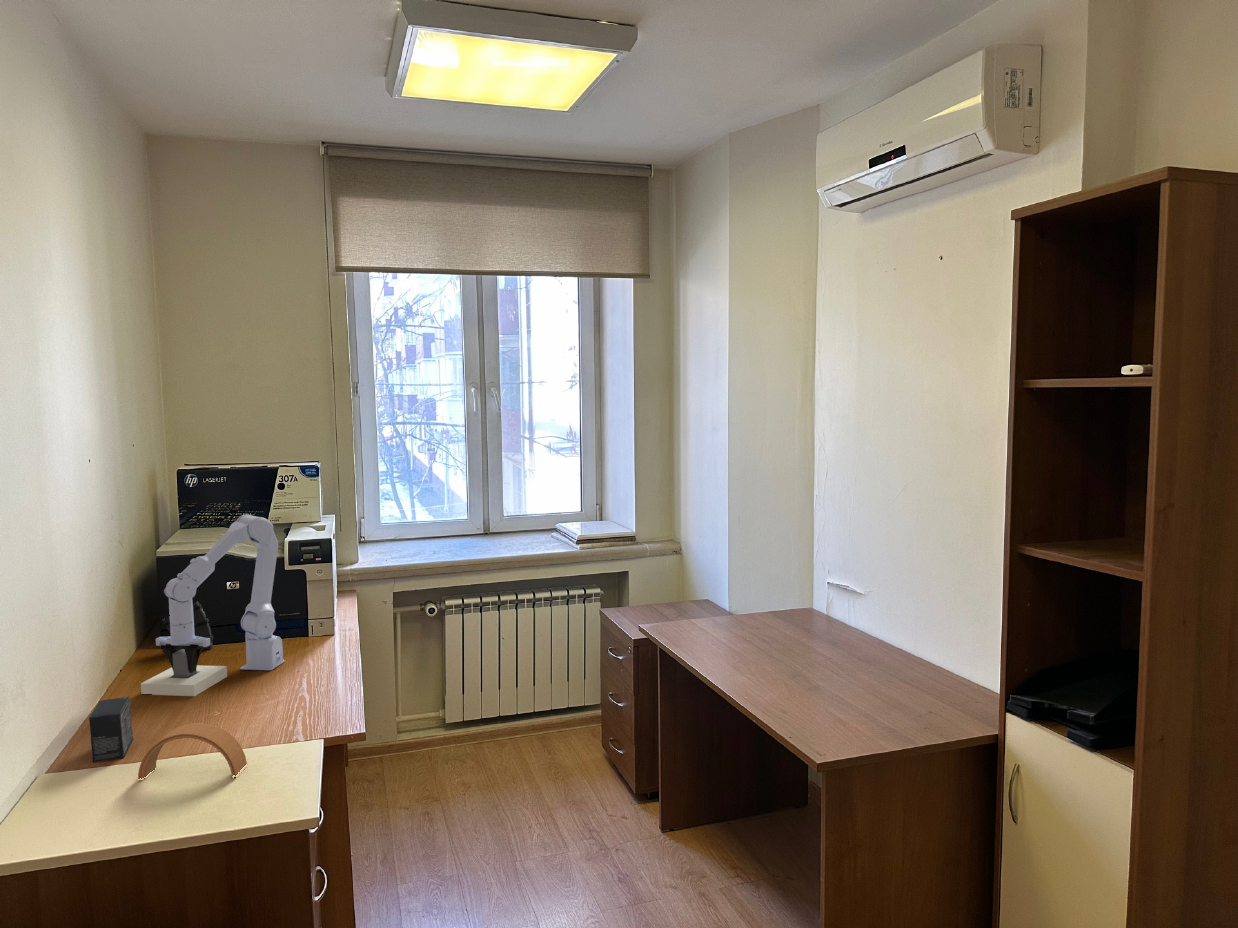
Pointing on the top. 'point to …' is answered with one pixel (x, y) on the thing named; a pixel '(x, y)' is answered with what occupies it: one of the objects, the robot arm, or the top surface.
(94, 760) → the small box
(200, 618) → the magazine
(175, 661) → the plug
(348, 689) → the top surface
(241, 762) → the brown half-ring arch
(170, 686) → the socket
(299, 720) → the top surface
